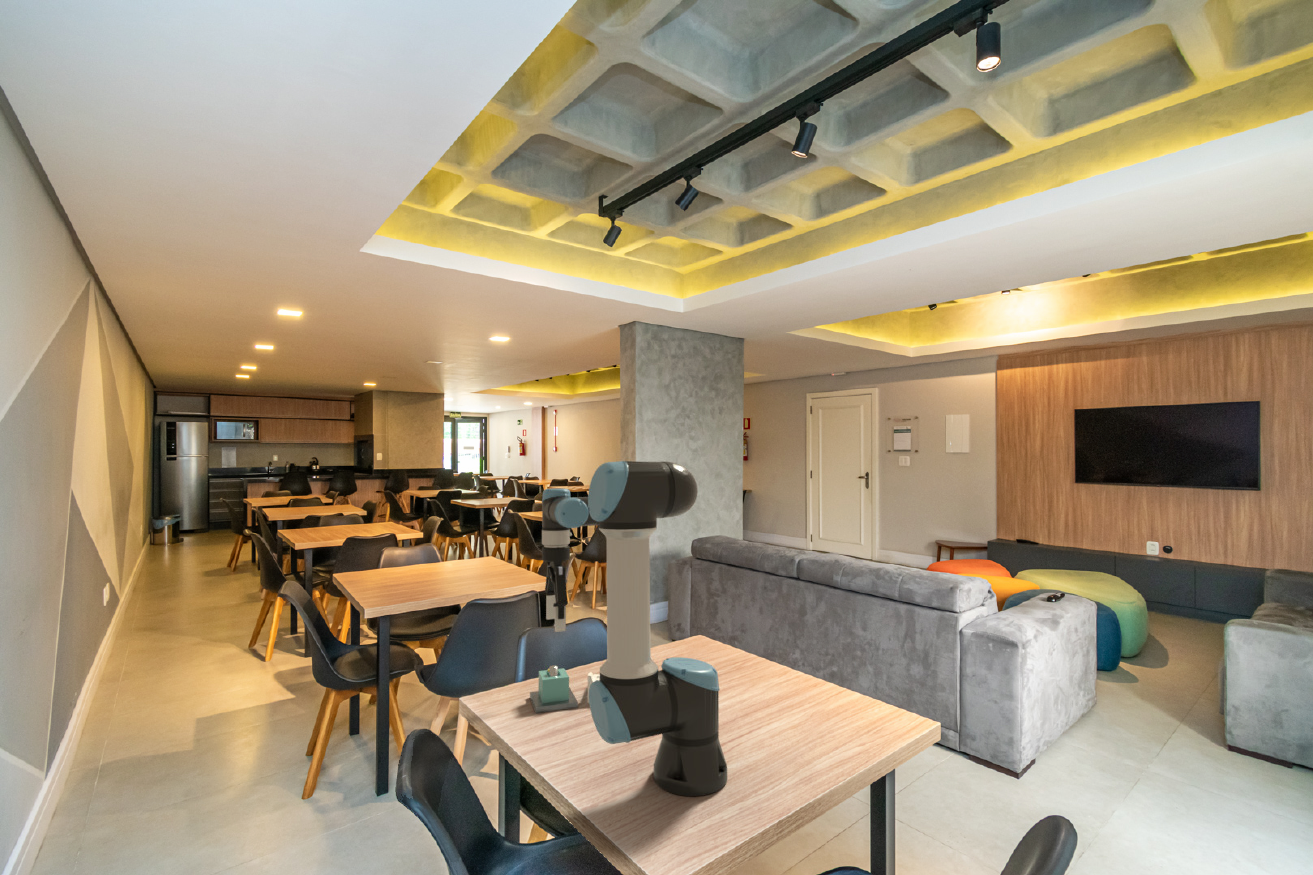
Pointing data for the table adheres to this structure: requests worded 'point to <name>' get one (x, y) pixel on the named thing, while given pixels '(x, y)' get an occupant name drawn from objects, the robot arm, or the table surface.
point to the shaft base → (552, 706)
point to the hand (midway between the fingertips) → (555, 624)
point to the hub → (553, 686)
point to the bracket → (592, 680)
